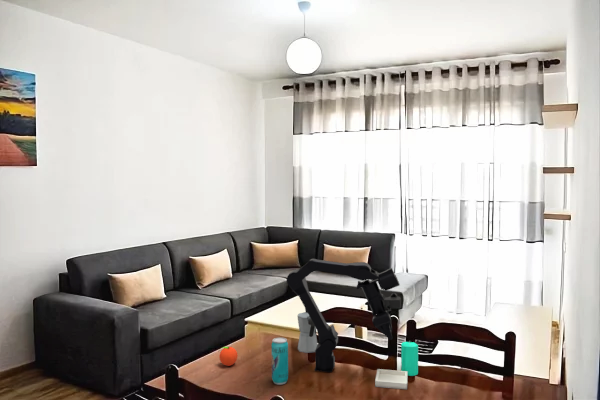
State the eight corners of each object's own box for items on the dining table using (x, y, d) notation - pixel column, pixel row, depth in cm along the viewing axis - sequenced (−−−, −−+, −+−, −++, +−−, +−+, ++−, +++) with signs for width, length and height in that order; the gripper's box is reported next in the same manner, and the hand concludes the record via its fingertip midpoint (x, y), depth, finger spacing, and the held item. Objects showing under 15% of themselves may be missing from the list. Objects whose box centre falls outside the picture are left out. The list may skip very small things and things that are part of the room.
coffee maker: (294, 345, 207) (293, 303, 207) (314, 343, 210) (313, 302, 209) (302, 357, 193) (302, 312, 192) (323, 355, 195) (323, 311, 194)
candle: (418, 376, 174) (418, 343, 173) (401, 375, 175) (401, 342, 174) (417, 369, 180) (417, 337, 179) (401, 368, 181) (401, 337, 180)
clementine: (213, 366, 184) (213, 348, 184) (223, 360, 191) (222, 342, 190) (232, 369, 181) (231, 350, 181) (241, 363, 188) (240, 344, 187)
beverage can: (268, 381, 170) (268, 339, 170) (282, 377, 174) (281, 336, 173) (278, 387, 166) (277, 343, 165) (291, 382, 169) (291, 340, 169)
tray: (375, 386, 165) (375, 380, 165) (377, 374, 176) (377, 368, 176) (407, 389, 163) (407, 383, 163) (407, 376, 173) (407, 371, 173)
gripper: (394, 293, 167) (413, 335, 166) (394, 282, 185) (411, 320, 184) (364, 305, 169) (382, 346, 168) (367, 292, 187) (383, 330, 186)
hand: (391, 335), depth 177 cm, fingers open, 9 cm apart
